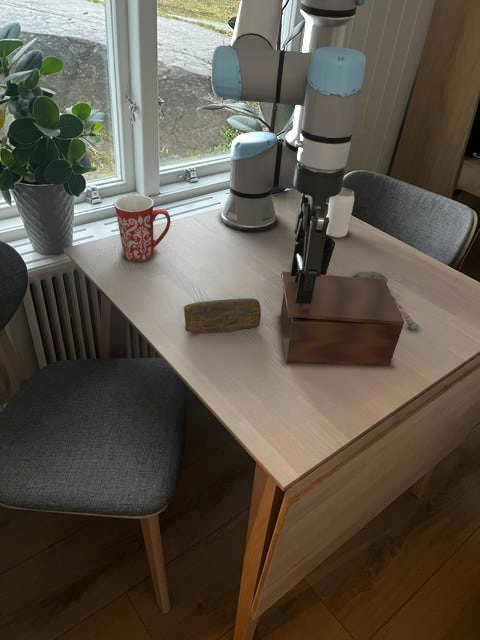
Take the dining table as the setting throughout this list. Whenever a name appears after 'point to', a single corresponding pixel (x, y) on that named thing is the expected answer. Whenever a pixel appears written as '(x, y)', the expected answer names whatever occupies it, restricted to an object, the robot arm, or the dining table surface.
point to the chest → (337, 341)
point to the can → (340, 213)
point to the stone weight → (222, 315)
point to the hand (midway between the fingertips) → (300, 288)
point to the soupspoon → (380, 276)
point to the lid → (342, 298)
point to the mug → (138, 226)
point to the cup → (327, 254)
